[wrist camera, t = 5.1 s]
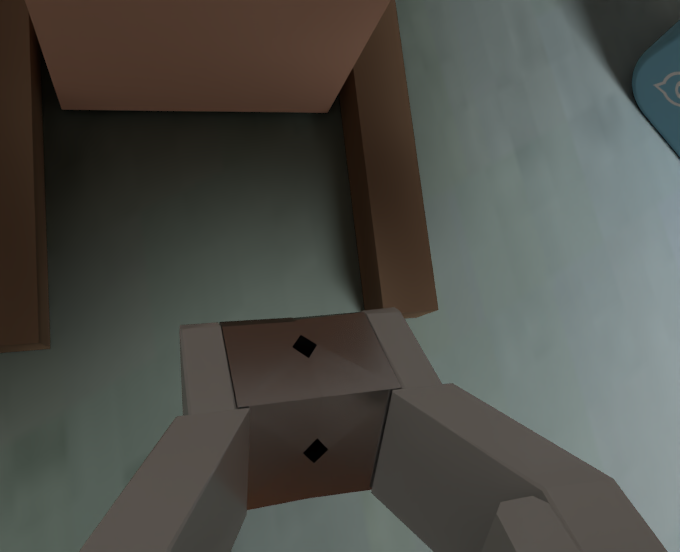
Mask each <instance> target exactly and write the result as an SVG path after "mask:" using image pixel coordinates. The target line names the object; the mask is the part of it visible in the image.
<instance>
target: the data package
mask: <svg viewBox="0 0 680 552" xmlns="http://www.w3.org/2000/svg"><path fill="white" fill-rule="evenodd" d="M632 89H633V94H634V97H635V100H636V102H637V104H638V106H639V108H640V110H641V111H642V112H643V114H644V115H645V116H646V117H647V118H648V120H649V121H650V122H651V123H652V124H653V126H654V127H655V128H656V129H657V130H658V132H659V133H660V134H661V135H662V136H663V137H664V139H665V140H666V141H667V142H668V143H669V145H670V146H671V147H672V148H673V149H674V151H675V152H676V153H677V154H678V155H679V157H680V20H679V21H678V22H677V23H676V24H675V25H673V26H672V27H671V28H670V29H669V30H668V31H667V32H666V33H665V34H664V35H663V36H661V37H660V38H659V39H658V40H657V41H656V42H655V43H654V44H653V45H652V46H651V47H649V48H648V49H647V50H646V51H645V52H644V53H643V54H642V56H641V57H640V58H639V60H638V62H637V63H636V66H635V68H634V72H633V76H632Z"/></svg>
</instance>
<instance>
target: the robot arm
mask: <svg viewBox="0 0 680 552" xmlns="http://www.w3.org/2000/svg"><path fill="white" fill-rule="evenodd" d="M179 334H180V359H181V384H182V404H183V416H178V417H176V418H175V419H174V421H173V422H172V423H171V425H170V426H169V428H168V429H167V430H166V432H165V433H164V434H163V436H162V437H161V439H160V440H159V441H158V443H157V444H156V446H155V447H154V448H153V450H152V451H151V452H150V454H149V455H148V457H147V458H146V459H145V461H144V462H143V464H142V465H141V466H140V468H139V469H138V470H137V472H136V473H135V475H134V476H133V477H132V479H131V480H130V482H129V483H128V484H127V486H126V487H125V489H124V490H123V491H122V493H121V494H120V495H119V497H118V498H117V500H116V501H115V502H114V504H113V505H112V507H111V508H110V509H109V511H108V512H107V513H106V515H105V516H104V518H103V519H102V520H101V522H100V523H99V525H98V526H97V527H96V529H95V530H94V531H93V533H92V534H91V536H90V537H89V538H88V540H87V541H86V543H85V544H84V545H83V547H82V548H81V550H80V551H79V552H231V550H232V547H233V545H234V543H235V540H236V538H237V536H238V533H239V531H240V529H241V526H242V524H243V522H244V519H245V517H246V515H247V510H251V509H256V508H261V507H266V506H271V505H277V504H282V503H287V502H292V501H297V500H302V499H308V498H314V497H322V496H329V495H336V494H344V493H351V492H358V491H366V490H372V492H371V493H372V494H373V495H374V496H375V497H376V498H377V499H378V500H380V501H381V502H382V503H383V504H384V505H385V506H386V507H387V508H388V509H389V510H390V511H391V512H392V513H393V514H394V515H395V516H396V517H398V518H399V519H400V520H401V521H402V522H403V523H404V524H405V525H406V526H407V527H408V528H409V529H410V530H411V531H412V532H413V533H415V534H416V535H417V536H418V537H419V538H420V539H421V540H422V541H423V542H424V543H425V544H426V545H427V546H428V547H429V548H430V549H432V550H433V551H434V552H667V550H666V549H665V548H664V546H663V545H662V543H661V542H660V541H659V539H658V538H657V537H656V535H655V534H654V533H653V531H652V530H651V529H650V527H649V526H648V525H647V523H646V522H645V521H644V519H643V518H642V517H641V515H640V514H639V513H638V511H637V510H636V509H635V507H634V506H633V505H632V503H631V502H630V501H629V499H628V498H627V496H626V495H625V494H624V492H623V491H622V490H621V488H620V487H619V486H618V484H617V483H616V482H615V480H614V479H613V478H611V477H609V476H607V475H606V474H604V473H602V472H601V471H599V470H597V469H596V468H594V467H592V466H591V465H589V464H587V463H586V462H584V461H582V460H581V459H579V458H577V457H576V456H574V455H572V454H570V453H569V452H567V451H565V450H564V449H562V448H560V447H559V446H557V445H555V444H554V443H552V442H550V441H549V440H547V439H545V438H544V437H542V436H540V435H539V434H537V433H535V432H533V431H532V430H530V429H528V428H527V427H525V426H523V425H522V424H520V423H518V422H517V421H515V420H513V419H512V418H510V417H508V416H507V415H505V414H503V413H502V412H500V411H498V410H496V409H495V408H493V407H491V406H490V405H488V404H486V403H485V402H483V401H481V400H480V399H478V398H476V397H475V396H473V395H471V394H470V393H468V392H466V391H464V390H463V389H461V388H459V387H458V386H456V385H454V384H453V383H451V384H442V383H441V381H440V379H439V378H438V376H437V374H436V372H435V371H434V369H433V367H432V365H431V364H430V362H429V360H428V359H427V357H426V355H425V353H424V352H423V350H422V348H421V346H420V345H419V343H418V341H417V340H416V338H415V336H414V334H413V333H412V331H411V329H410V327H409V326H408V324H407V322H406V320H405V319H404V317H403V315H402V314H401V312H400V311H399V310H398V309H396V308H395V307H392V308H382V309H373V310H364V311H361V312H354V313H343V314H331V315H320V316H309V317H297V318H277V319H260V320H244V321H228V322H220V323H219V324H218V322H217V323H203V324H189V325H180V332H179Z"/></svg>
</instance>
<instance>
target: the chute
mask: <svg viewBox="0 0 680 552" xmlns="http://www.w3.org/2000/svg"><path fill="white" fill-rule="evenodd" d="M339 100H340V108H341V116H342V125H343V133H344V141H345V150H346V158H347V166H348V175H349V183H350V191H351V200H352V208H353V216H354V225H355V233H356V241H357V250H358V258H359V267H360V275H361V283H362V292H363V300H364V308H365V310H373V309H382V308H392V307H395V308H396V309H398V310H399V311H400V312H401V314H402V315H403V317H404V318H416V317H419V316H422V315H425V314H428V313H431V312H433V311H436V310H438V304H437V296H436V289H435V282H434V275H433V268H432V261H431V254H430V246H429V239H428V232H427V225H426V218H425V211H424V204H423V196H422V189H421V182H420V175H419V168H418V161H417V154H416V146H415V139H414V132H413V125H412V118H411V111H410V103H409V96H408V89H407V82H406V75H405V68H404V61H403V53H402V46H401V39H400V32H399V25H398V18H397V11H396V3H395V0H391V1H390V2H389V4H388V6H387V8H386V10H385V11H384V13H383V15H382V17H381V18H380V20H379V22H378V24H377V26H376V27H375V29H374V31H373V33H372V34H371V36H370V38H369V40H368V42H367V43H366V45H365V47H364V49H363V51H362V52H361V54H360V56H359V58H358V59H357V61H356V63H355V65H354V67H353V68H352V70H351V72H350V74H349V76H348V77H347V79H346V81H345V83H344V84H343V86H342V88H341V90H340V92H339ZM40 349H50V324H49V294H48V265H47V235H46V206H45V176H44V147H43V117H42V88H41V58H40V44H39V41H38V38H37V35H36V32H35V29H34V26H33V23H32V20H31V17H30V14H29V11H28V8H27V6H26V3H25V0H0V353H5V352H17V351H29V350H40Z"/></svg>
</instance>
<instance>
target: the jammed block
mask: <svg viewBox="0 0 680 552" xmlns="http://www.w3.org/2000/svg"><path fill="white" fill-rule="evenodd" d="M390 1H391V0H25V3H26V6H27V8H28V11H29V14H30V17H31V20H32V23H33V26H34V29H35V32H36V35H37V38H38V41H39V44H40V47H41V50H42V53H43V56H44V59H45V62H46V65H47V68H48V71H49V73H50V76H51V79H52V82H53V85H54V88H55V91H56V94H57V97H58V100H59V103H60V106H61V109H62V110H131V111H216V112H301V113H328V111H329V109H330V108H331V106H332V104H333V102H334V101H335V99H336V97H337V95H338V93H339V92H340V90H341V88H342V86H343V84H344V83H345V81H346V79H347V77H348V76H349V74H350V72H351V70H352V68H353V67H354V65H355V63H356V61H357V59H358V58H359V56H360V54H361V52H362V51H363V49H364V47H365V45H366V43H367V42H368V40H369V38H370V36H371V34H372V33H373V31H374V29H375V27H376V26H377V24H378V22H379V20H380V18H381V17H382V15H383V13H384V11H385V10H386V8H387V6H388V4H389V2H390Z"/></svg>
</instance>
